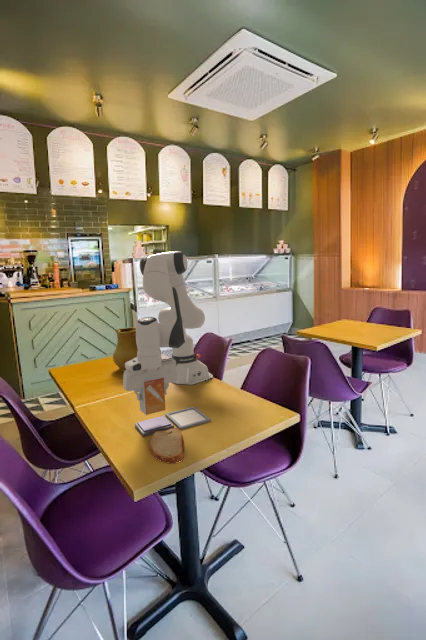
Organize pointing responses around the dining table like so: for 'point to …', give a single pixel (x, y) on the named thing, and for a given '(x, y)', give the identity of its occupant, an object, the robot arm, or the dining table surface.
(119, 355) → the pitcher
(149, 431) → the ink pad
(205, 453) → the dining table surface
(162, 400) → the small box
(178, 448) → the bread slice
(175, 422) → the print frame
